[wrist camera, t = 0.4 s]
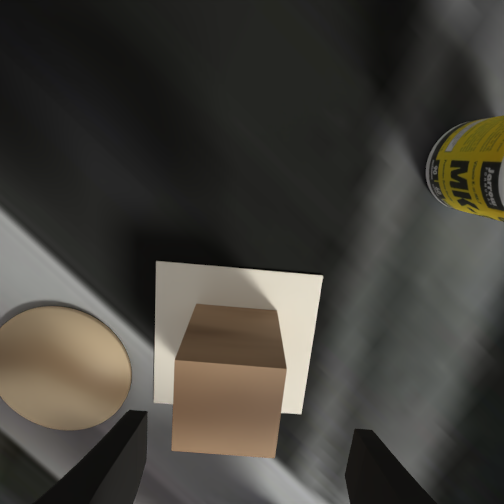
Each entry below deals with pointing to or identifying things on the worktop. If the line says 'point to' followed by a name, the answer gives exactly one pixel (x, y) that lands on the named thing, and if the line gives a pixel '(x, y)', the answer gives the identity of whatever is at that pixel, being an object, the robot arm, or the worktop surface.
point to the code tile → (235, 295)
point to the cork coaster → (62, 368)
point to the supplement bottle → (470, 168)
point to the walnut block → (229, 382)
